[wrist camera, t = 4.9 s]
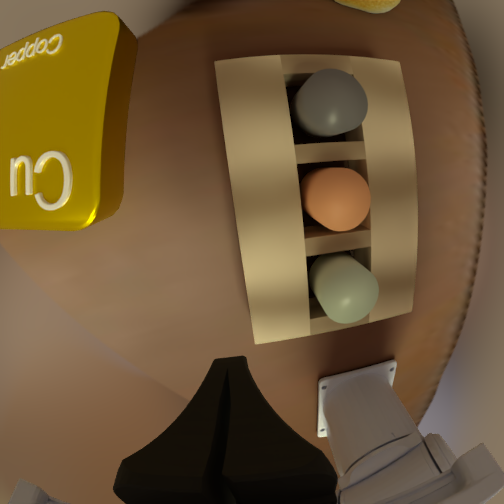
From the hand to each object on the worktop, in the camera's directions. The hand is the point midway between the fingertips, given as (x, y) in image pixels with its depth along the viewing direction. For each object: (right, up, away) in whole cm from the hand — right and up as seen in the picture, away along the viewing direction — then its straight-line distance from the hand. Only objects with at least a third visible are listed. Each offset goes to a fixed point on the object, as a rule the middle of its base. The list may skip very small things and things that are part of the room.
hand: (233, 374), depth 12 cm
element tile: (-15, +15, +5) cm, 22 cm away
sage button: (+6, +4, +8) cm, 11 cm away
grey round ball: (+5, +14, +4) cm, 16 cm away
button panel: (+6, +9, +7) cm, 13 cm away
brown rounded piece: (+6, +9, +7) cm, 13 cm away
